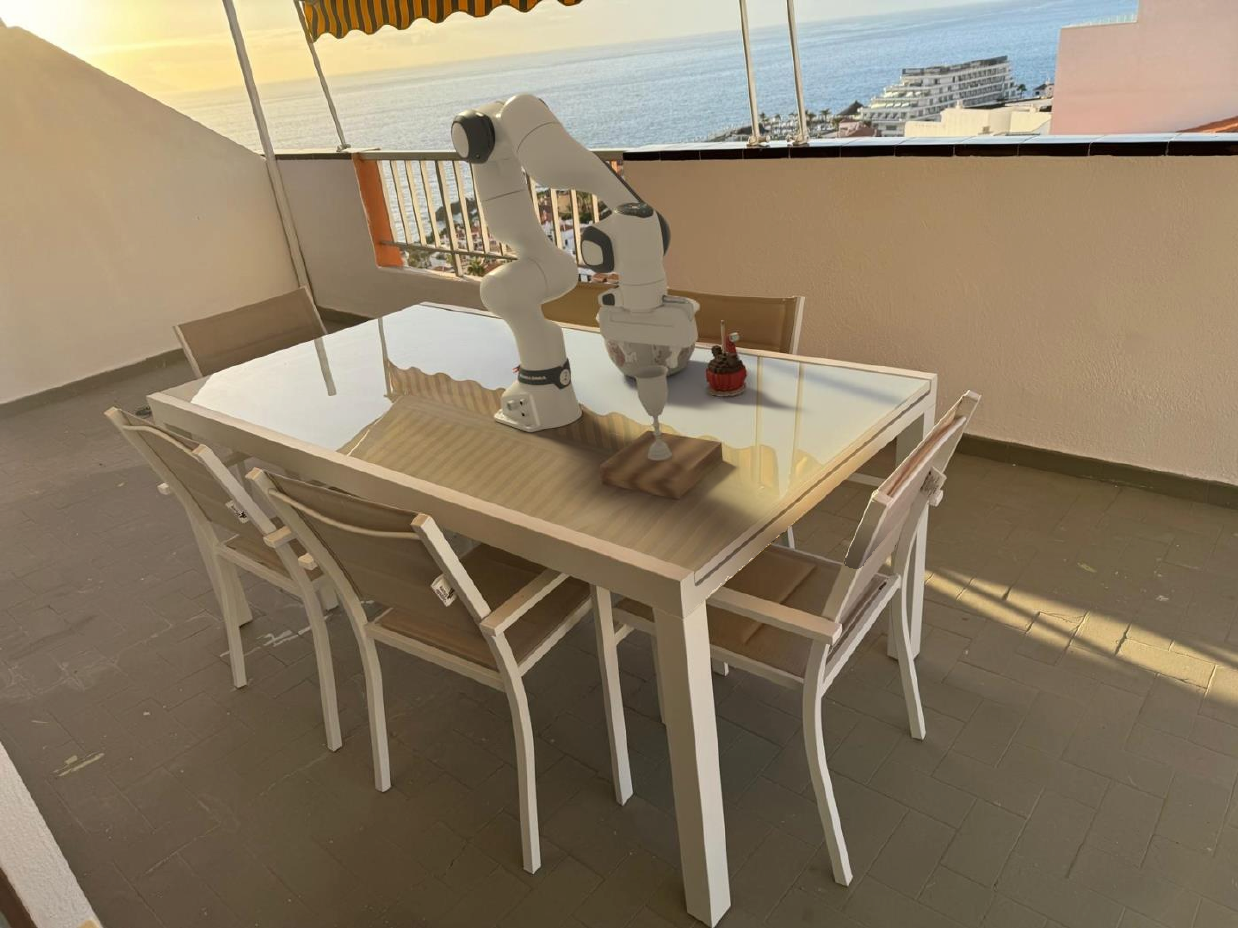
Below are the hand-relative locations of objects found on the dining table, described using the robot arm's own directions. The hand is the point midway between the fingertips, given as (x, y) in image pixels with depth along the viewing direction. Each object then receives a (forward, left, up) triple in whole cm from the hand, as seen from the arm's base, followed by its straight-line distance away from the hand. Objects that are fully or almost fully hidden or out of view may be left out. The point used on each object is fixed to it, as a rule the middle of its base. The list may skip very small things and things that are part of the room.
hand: (651, 364), depth 163 cm
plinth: (0, 0, -23) cm, 23 cm away
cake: (-8, +43, -24) cm, 50 cm away
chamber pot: (-34, +50, -24) cm, 65 cm away
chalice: (0, -1, -19) cm, 19 cm away
